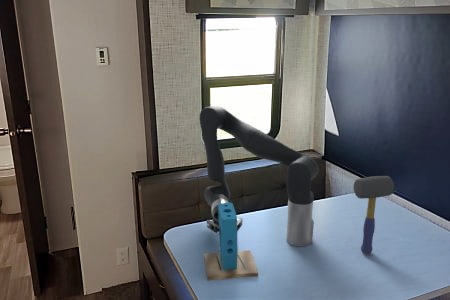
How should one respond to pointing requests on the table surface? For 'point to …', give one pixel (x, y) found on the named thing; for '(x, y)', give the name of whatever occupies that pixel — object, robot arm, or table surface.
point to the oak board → (243, 270)
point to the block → (228, 236)
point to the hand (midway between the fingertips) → (227, 235)
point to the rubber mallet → (371, 203)
